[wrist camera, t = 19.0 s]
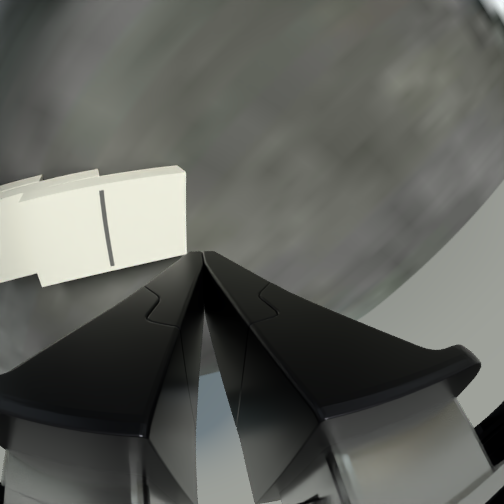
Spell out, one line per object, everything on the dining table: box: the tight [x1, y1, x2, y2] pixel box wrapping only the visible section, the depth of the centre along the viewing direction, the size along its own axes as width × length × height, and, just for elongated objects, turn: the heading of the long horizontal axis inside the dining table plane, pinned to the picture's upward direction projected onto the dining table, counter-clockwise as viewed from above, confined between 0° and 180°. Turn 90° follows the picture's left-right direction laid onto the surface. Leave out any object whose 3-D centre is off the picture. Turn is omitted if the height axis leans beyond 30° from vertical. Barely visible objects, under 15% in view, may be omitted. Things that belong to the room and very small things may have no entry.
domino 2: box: [18, 165, 187, 287], centre depth 14 cm, size 2×5×9 cm
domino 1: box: [0, 169, 99, 283], centre depth 13 cm, size 2×5×9 cm
